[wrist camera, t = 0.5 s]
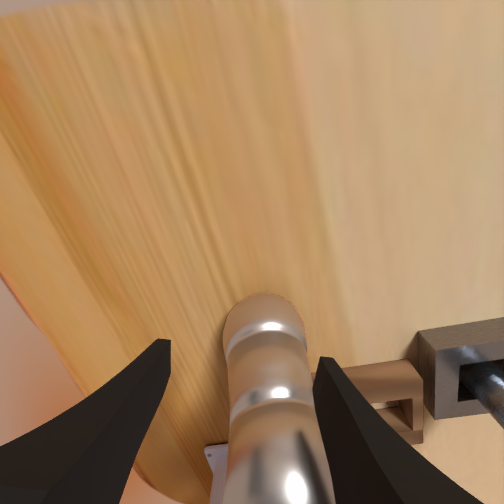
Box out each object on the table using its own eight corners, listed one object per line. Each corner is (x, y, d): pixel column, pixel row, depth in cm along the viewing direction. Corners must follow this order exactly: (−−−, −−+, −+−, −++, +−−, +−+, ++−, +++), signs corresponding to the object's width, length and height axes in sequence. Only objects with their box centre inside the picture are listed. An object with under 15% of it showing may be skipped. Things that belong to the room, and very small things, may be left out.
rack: (409, 418, 27) (448, 487, 21) (295, 432, 28) (304, 501, 23) (407, 358, 24) (451, 419, 19) (282, 377, 26) (288, 439, 20)
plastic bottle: (310, 293, 22) (624, 1024, 4) (278, 347, 25) (388, 916, 7) (239, 273, 20) (281, 1250, 3) (213, 332, 23) (156, 1003, 6)
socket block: (504, 384, 25) (529, 408, 23) (418, 396, 26) (434, 419, 24) (513, 315, 22) (543, 334, 20) (418, 331, 23) (435, 350, 21)
